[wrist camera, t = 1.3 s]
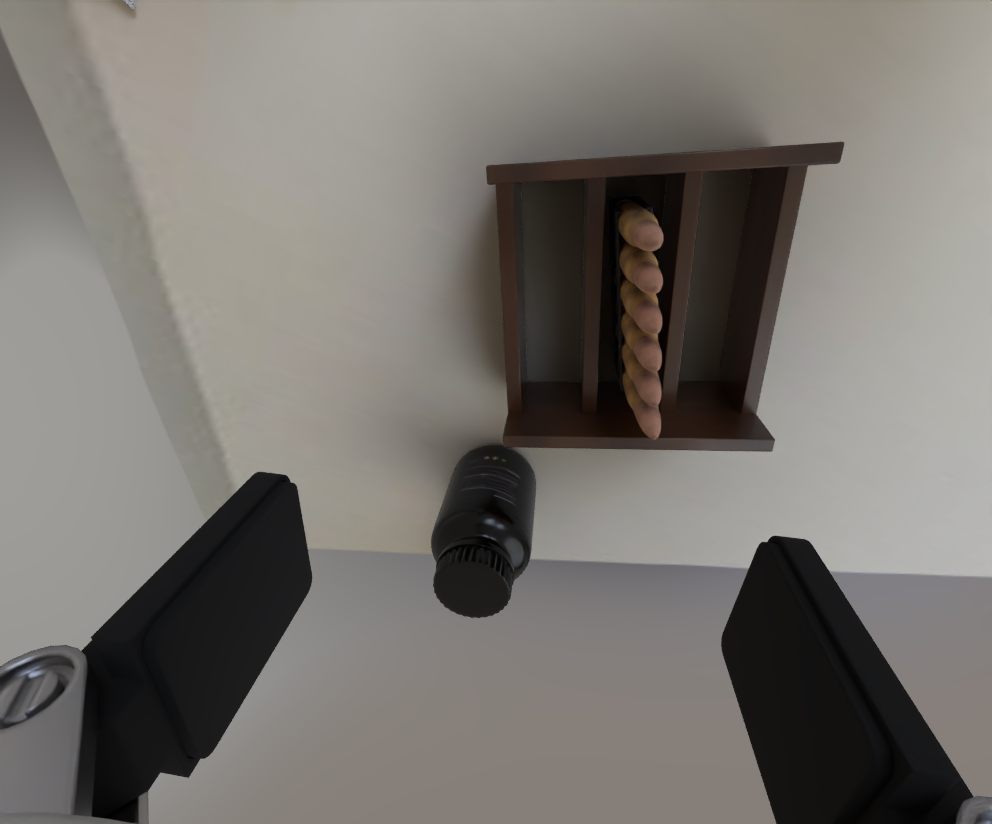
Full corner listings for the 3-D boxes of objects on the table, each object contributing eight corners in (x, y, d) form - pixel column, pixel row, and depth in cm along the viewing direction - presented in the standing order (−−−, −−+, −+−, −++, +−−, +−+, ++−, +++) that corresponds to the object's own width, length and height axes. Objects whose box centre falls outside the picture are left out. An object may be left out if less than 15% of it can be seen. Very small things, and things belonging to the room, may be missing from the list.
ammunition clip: (641, 361, 34) (675, 454, 23) (614, 364, 34) (634, 456, 23) (640, 195, 29) (681, 214, 18) (608, 199, 29) (631, 221, 19)
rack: (772, 146, 27) (845, 141, 20) (729, 391, 34) (772, 452, 27) (505, 164, 29) (485, 165, 22) (515, 391, 36) (503, 447, 29)
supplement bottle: (532, 516, 41) (521, 639, 30) (453, 505, 42) (415, 622, 31) (541, 447, 38) (532, 558, 27) (456, 436, 38) (414, 541, 28)
